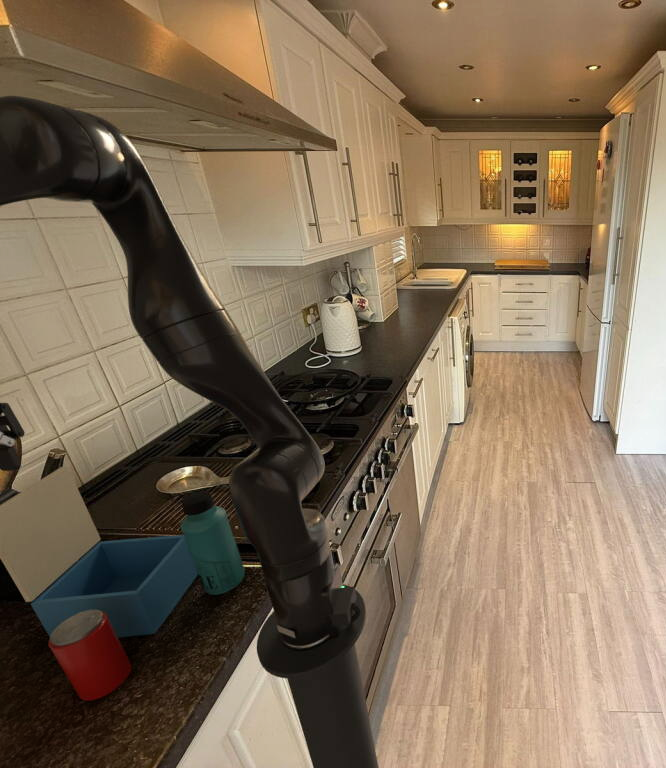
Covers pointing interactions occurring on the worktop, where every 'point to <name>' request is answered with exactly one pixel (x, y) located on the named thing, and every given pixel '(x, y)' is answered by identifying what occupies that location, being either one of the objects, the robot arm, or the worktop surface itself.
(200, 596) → the worktop surface
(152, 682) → the worktop surface
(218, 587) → the beverage bottle
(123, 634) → the cool box
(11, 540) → the lid
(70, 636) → the can
